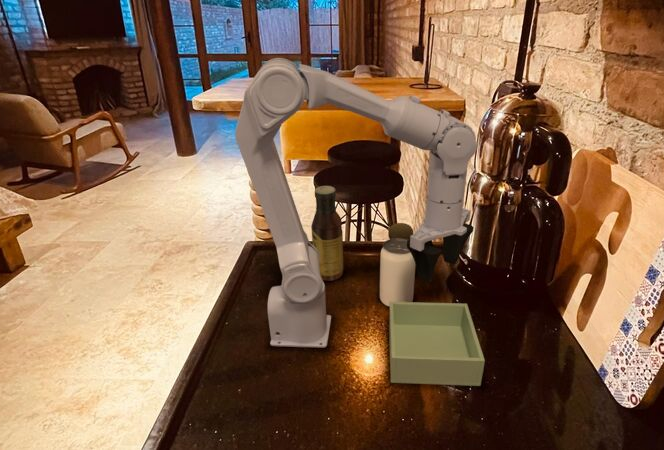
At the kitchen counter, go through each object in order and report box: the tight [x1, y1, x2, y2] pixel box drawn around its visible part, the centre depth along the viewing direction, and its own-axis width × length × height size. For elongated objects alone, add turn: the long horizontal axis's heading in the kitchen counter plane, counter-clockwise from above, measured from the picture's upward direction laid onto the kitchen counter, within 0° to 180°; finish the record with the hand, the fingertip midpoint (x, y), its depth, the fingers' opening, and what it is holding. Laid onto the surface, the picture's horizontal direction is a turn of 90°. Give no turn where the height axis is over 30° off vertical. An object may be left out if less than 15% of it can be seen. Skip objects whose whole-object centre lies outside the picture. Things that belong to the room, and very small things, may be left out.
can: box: [379, 238, 416, 308], centre depth 76 cm, size 6×6×12 cm
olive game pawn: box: [387, 222, 415, 240], centre depth 85 cm, size 6×6×11 cm
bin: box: [388, 301, 486, 387], centre depth 65 cm, size 13×13×5 cm
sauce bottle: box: [310, 185, 344, 282], centre depth 83 cm, size 6×6×20 cm
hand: (437, 271), depth 69 cm, fingers open, 7 cm apart
